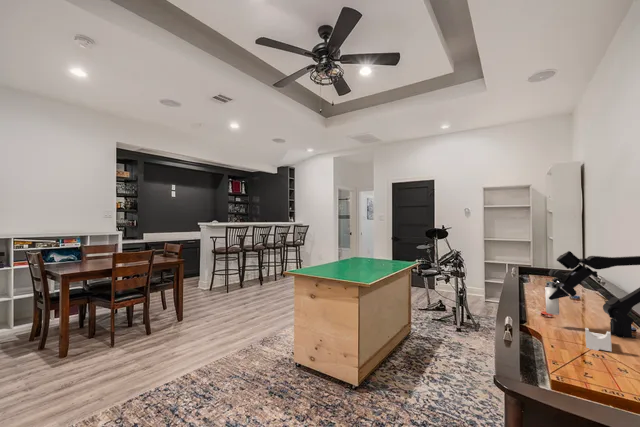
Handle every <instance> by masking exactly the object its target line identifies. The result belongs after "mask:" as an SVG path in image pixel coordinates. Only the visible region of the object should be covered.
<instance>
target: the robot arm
mask: <svg viewBox="0 0 640 427" xmlns="http://www.w3.org/2000/svg"><path fill="white" fill-rule="evenodd" d="M556 262H558V263H559V264H560V265H562V266H563V267H565V268H566V269H567V270H569V269H570V270H571V271H570V272H565V273H563V272H564V271H562V270H560V269H557V270H555V269H552V268H550V270H549V272H548V275H549V276H550V277H553V279H551V281H552V282H551V284H554V287H555V288H556V290H555V291H554V293H553V294H552V295H551V296H550V297H549V299H550V300H553V299H557V298H559V299H562V298H565V297H570V296H571V297H572V298H573V297H575V296H576V295H577V291H576V290H575V288H576V287H577V286H578V285H579V286H580V285H582V284H583V282H584V281H585V280H588V278H589V277H591V276H592V277H594V278H595V279H596V278H598V271H597V270H604V269H609V268H613V267H625V266H628V267H629V266H640V255H635V256H633V255H632V256H616V257H615V256H613V257H611V256H601V255H588V256H587V257H586V258H579V257H577V256H576V255H575V254H574V253H573V252H572V251H570V250H568V251H566V252H565V253H563V254H561V255H559V256H558V257H557V258H556ZM583 265H585V266H583ZM592 269H594V270H592ZM638 304H640V287H638V288H636V289H635V290H633V291H632V292H630V293H628V294H627V295H624V296H623V297H621V298H616V297H614V296H612V297H610V299H608V300H606V301H604V304H603V305H602V310H603V311H604V312H605V314H607V315H608V317H609V320H610V322H609V324H610V326H609V327H610V330H607V331H608V332H610V333H611V335H614V336H616V337H619V338H627V339H628V338H629V339H630V338H631V339H632V338H634V339H636V338H637V336H635V335H633V328H632V325H633V323H634V321H635V320H634V319H633V318H632V317H631V316H630V315H628V314H629V313H630V312H631V310H632V309H634V307H635V306H636V305H638Z"/></svg>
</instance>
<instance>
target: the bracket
mask: <svg viewBox="0 0 640 427" xmlns="http://www.w3.org/2000/svg"><path fill="white" fill-rule="evenodd" d="M584 330H585V331H584V333H585V345H586V349H587V348H589V349H588V350H592V349H593V350H592V351H597V352H598V351H599V350H601V351H607V352H610V353H611V352H613V351H612V350H613V349H612V347H613V346H612V334H611V333H610V332H608V331H609V330H606V333H605V334H603V333H597V332H592V331H590V330H589V328H588V327H585V328H584Z"/></svg>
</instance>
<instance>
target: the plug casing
mask: <svg viewBox="0 0 640 427" xmlns="http://www.w3.org/2000/svg"><path fill="white" fill-rule="evenodd" d="M555 290H556V288H555V287H554V284H552V282H550V283H548V286H545V287H544V293H545V294H544V295H545V313H546V314H549V315H553V316H554V315H557V316H558V315H560V300H559V299H560V298H557V299H553V300H550V299H549V297H550V296H551V295H552V294H553V293H554V291H555Z"/></svg>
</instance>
